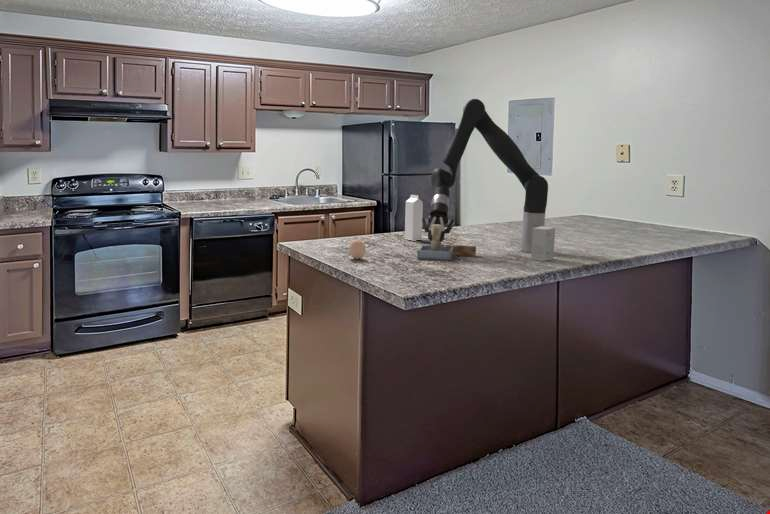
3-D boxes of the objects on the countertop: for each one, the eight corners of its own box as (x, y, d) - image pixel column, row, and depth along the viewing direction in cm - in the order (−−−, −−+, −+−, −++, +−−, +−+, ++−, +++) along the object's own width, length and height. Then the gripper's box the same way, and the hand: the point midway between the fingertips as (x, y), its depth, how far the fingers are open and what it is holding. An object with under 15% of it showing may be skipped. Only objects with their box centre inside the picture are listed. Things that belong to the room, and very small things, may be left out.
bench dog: (475, 255, 238) (476, 245, 238) (475, 256, 236) (475, 247, 235) (447, 253, 241) (447, 244, 240) (446, 255, 238) (446, 245, 237)
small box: (539, 256, 238) (541, 225, 235) (553, 258, 234) (555, 227, 231) (530, 259, 232) (532, 227, 229) (545, 261, 228) (547, 229, 225)
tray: (453, 254, 239) (453, 246, 238) (450, 260, 226) (451, 252, 225) (421, 253, 241) (421, 245, 241) (417, 258, 228) (417, 250, 228)
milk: (412, 241, 271) (413, 195, 267) (404, 240, 276) (405, 194, 271) (422, 240, 275) (423, 195, 270) (414, 239, 279) (415, 194, 275)
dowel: (441, 250, 234) (441, 224, 232) (440, 252, 231) (441, 225, 228) (431, 250, 235) (432, 224, 233) (430, 252, 231) (431, 225, 229)
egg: (367, 260, 224) (367, 240, 222) (351, 261, 222) (351, 241, 221) (363, 257, 230) (363, 238, 229) (347, 257, 228) (347, 238, 227)
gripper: (422, 201, 238) (417, 233, 229) (456, 202, 235) (453, 235, 226) (423, 212, 244) (419, 244, 235) (456, 213, 242) (453, 246, 232)
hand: (435, 239), depth 230 cm, fingers closed on dowel, 4 cm apart
